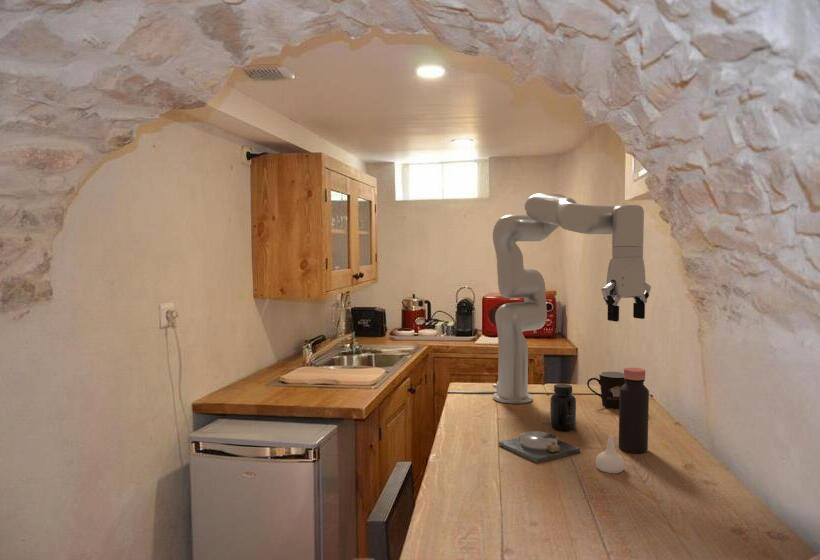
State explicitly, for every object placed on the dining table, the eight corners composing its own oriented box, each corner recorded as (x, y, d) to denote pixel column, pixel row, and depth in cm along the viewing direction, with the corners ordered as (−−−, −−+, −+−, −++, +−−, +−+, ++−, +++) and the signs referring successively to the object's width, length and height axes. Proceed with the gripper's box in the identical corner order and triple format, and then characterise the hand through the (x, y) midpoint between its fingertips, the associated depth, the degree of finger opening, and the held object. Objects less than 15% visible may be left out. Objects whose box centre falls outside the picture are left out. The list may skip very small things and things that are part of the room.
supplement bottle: (573, 425, 168) (574, 382, 167) (577, 432, 161) (578, 388, 160) (548, 424, 168) (549, 382, 167) (552, 432, 161) (552, 388, 161)
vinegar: (650, 447, 149) (652, 368, 148) (644, 455, 143) (646, 373, 142) (622, 442, 153) (623, 365, 151) (615, 450, 147) (616, 370, 146)
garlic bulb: (600, 476, 132) (602, 442, 131) (591, 463, 138) (592, 431, 137) (628, 476, 132) (630, 442, 131) (618, 463, 138) (620, 430, 137)
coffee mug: (630, 404, 188) (630, 373, 188) (624, 411, 181) (625, 378, 180) (592, 399, 194) (593, 369, 194) (585, 405, 187) (586, 374, 186)
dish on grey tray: (498, 445, 151) (498, 433, 151) (540, 436, 158) (540, 425, 158) (536, 463, 139) (536, 450, 139) (579, 452, 146) (580, 440, 145)
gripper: (638, 252, 161) (636, 315, 162) (592, 253, 152) (591, 320, 153) (662, 253, 154) (660, 319, 155) (615, 254, 146) (614, 323, 147)
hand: (626, 319), depth 154 cm, fingers open, 9 cm apart
